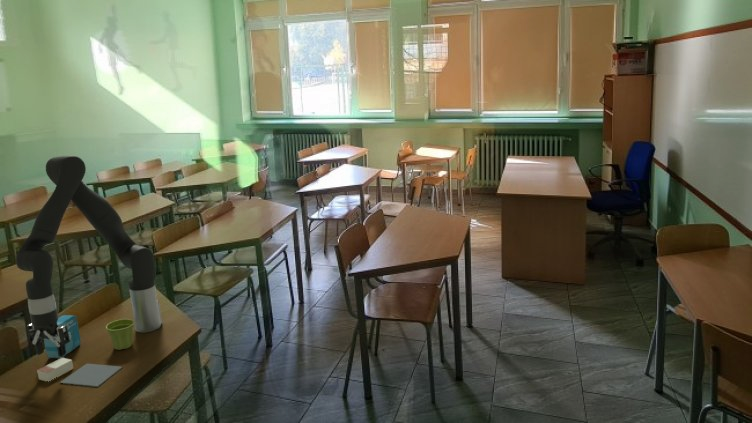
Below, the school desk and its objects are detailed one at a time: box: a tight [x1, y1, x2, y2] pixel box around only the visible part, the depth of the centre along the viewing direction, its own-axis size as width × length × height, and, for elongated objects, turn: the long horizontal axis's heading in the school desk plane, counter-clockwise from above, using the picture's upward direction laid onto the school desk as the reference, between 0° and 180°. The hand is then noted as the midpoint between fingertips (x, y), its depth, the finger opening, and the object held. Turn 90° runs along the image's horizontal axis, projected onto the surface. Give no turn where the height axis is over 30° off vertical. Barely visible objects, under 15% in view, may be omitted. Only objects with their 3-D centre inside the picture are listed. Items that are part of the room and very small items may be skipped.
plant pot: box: [105, 318, 135, 350], centre depth 201 cm, size 9×9×9 cm
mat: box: [59, 363, 123, 388], centre depth 183 cm, size 12×14×1 cm
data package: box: [43, 314, 82, 359], centre depth 199 cm, size 12×4×12 cm, turn 170°
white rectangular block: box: [36, 357, 74, 383], centre depth 185 cm, size 9×5×4 cm, turn 155°
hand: (51, 354), depth 183 cm, fingers open, 8 cm apart
